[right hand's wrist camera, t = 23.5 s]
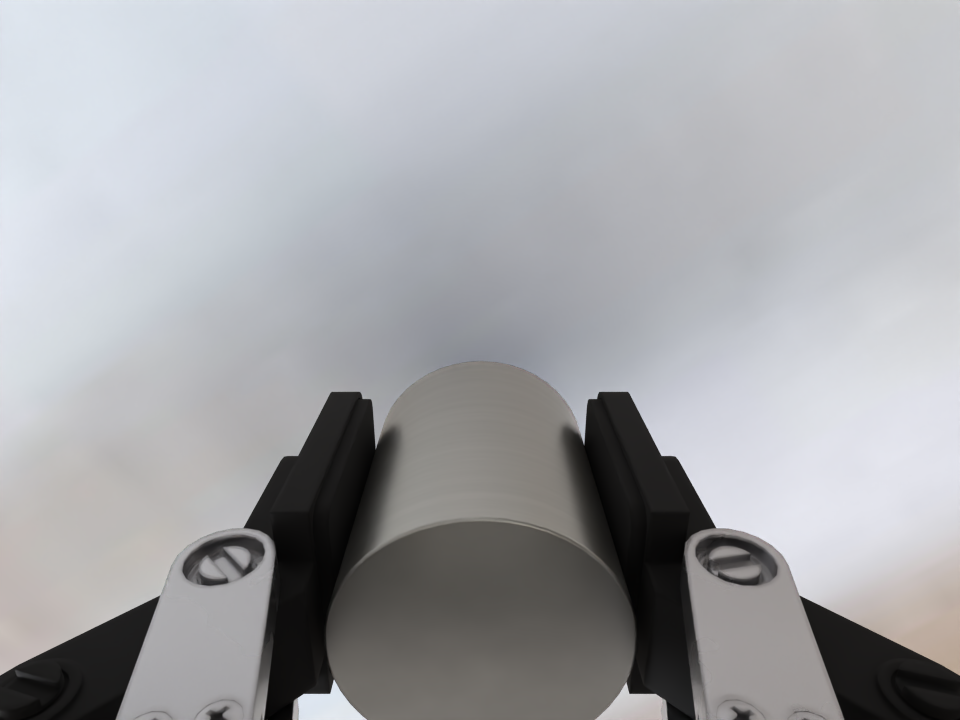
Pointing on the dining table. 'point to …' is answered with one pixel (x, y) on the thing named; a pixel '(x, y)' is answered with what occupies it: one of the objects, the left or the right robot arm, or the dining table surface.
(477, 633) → the canister
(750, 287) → the dining table surface
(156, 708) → the right robot arm
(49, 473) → the dining table surface
